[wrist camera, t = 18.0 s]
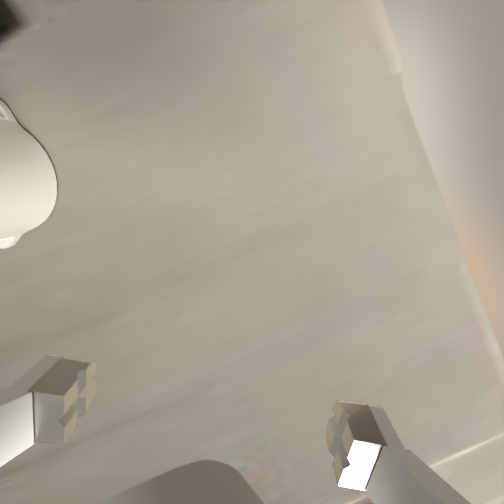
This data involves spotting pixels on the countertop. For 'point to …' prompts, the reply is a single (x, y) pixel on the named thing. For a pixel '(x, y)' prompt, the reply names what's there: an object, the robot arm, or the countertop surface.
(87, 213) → the countertop surface
